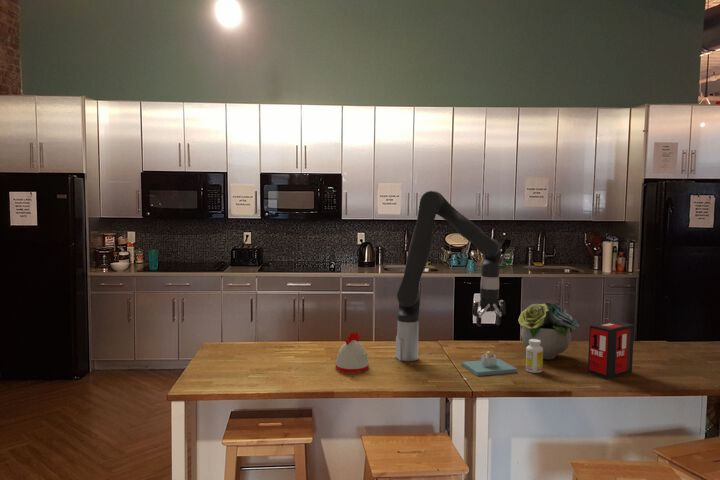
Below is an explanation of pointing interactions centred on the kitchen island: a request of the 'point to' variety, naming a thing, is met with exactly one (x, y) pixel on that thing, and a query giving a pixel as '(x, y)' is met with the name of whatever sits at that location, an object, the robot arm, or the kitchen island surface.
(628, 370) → the cleaning product box
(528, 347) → the supplement bottle
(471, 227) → the robot arm
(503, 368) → the post stand
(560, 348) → the flower arrangement
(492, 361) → the steel hub
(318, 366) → the kitchen island surface
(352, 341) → the grey beanie hat
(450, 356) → the kitchen island surface
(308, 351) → the kitchen island surface
